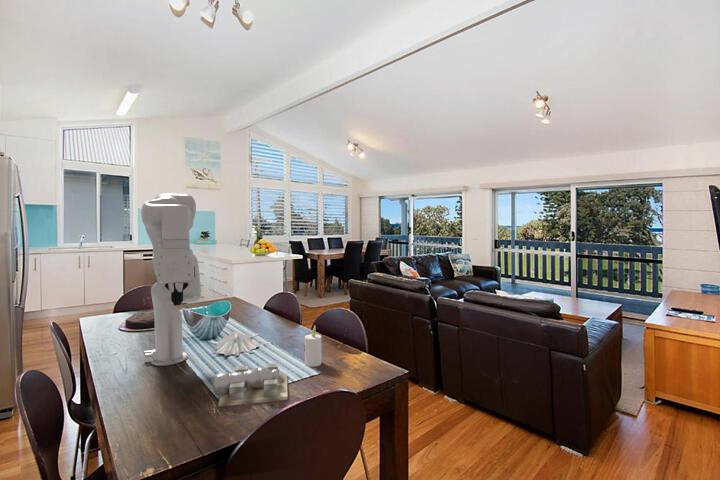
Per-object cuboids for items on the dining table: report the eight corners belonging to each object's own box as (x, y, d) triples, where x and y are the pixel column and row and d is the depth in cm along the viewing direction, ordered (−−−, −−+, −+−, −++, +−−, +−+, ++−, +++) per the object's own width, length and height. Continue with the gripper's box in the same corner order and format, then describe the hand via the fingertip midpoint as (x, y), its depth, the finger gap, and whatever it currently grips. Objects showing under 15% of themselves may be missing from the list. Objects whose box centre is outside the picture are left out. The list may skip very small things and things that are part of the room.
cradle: (218, 406, 107) (218, 390, 107) (227, 380, 124) (227, 366, 124) (287, 399, 111) (287, 383, 111) (286, 375, 129) (286, 361, 128)
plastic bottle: (213, 398, 113) (278, 387, 120) (212, 392, 108) (280, 381, 115) (212, 377, 116) (275, 368, 124) (212, 371, 111) (278, 361, 119)
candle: (304, 360, 142) (304, 322, 142) (321, 360, 143) (321, 322, 142) (303, 366, 136) (303, 327, 135) (321, 366, 137) (321, 327, 136)
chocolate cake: (123, 336, 172) (123, 323, 172) (114, 324, 193) (114, 312, 193) (186, 325, 191) (186, 313, 190) (171, 315, 212) (171, 304, 211)
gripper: (144, 246, 106) (146, 308, 107) (199, 245, 109) (200, 306, 110) (153, 244, 113) (155, 302, 114) (204, 244, 116) (205, 300, 117)
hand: (177, 304), depth 112 cm, fingers closed
